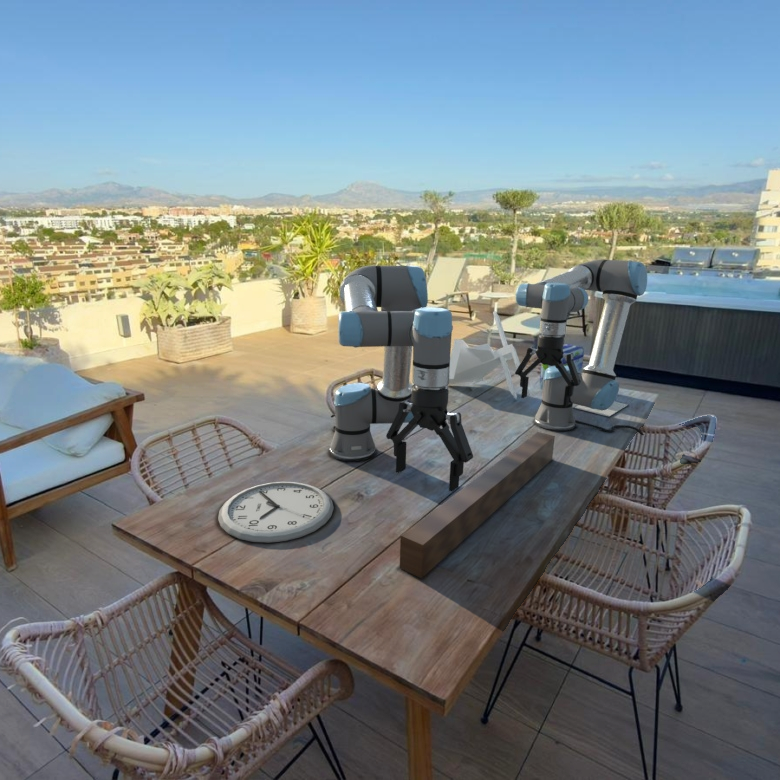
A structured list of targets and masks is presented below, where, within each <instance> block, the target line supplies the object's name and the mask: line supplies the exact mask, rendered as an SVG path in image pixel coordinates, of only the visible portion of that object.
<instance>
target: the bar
mask: <svg viewBox="0 0 780 780" xmlns="http://www.w3.org/2000/svg"><path fill="white" fill-rule="evenodd" d="M555 439H556V436H555V435H552V434H548V433H544V432H541V431H537V432H535V433H534V434H533V435H532V436H530V437H529V438H527V439H526V440H525V441H524V442H522V443H520V445H518V446H517V447H516V448H514V449H513V450H512V451H510V452H509V453H508V454H506V455H505V456H504V457H501V459H500V460H499V461H497V462H495V463H494V464H493V465H492V466H490V467H489V468H488V469H487V470H485V471H484V472H482V473H481V474H480V475H478V476H477V477H476V478H475V479H473V480H472V481H471V482H469V483H468V484H466V485H465V486H464V487H463V488H461V489H460V490H459V491H457V492H456V493H455V494H453V495H452V496H451V497H449V498H448V499H447V500H445V501H444V502H443V503H441V504H440V505H439V506H437V507H436V508H435V509H433V511H431V512H430V513H429V514H427V515H425V517H423V518H422V519H420V520H419V521H418V522H416V523H415V524H414V525H412V526H411V527H409V528H408V529H407V530H406V531H405V532H403V533H402V534H401V535H400V536H399V537H400V538H399V541H400V543H399V544H400V545H399V569H400V570H403V571H405V572H407V573H409V574H411V575H413V576H416V577H417V578H420V579H423V578H424V577H425V576H426V575H427V574H428V573H429V572H430V571H432V570H433V569H434V568H435V567H436V566H437V565H438V564H439V563H440V562H441V561H442V560H443V559H445V558H446V557H447V556H448V555H449V554H450V553H451V552H452V551H454V550H455V549H456V548H457V547H458V546H459V545H460V544H461V543H463V542H464V540H465V539H467V538H468V537H469V536H470V535H471V534H472V533H473V532H474V531H475V530H477V528H479V527H480V526H482V524H483V523H484V522H485V521H487V519H489V518H490V517H491V516H492V515H493V514H494V513H495V512H496V511H497V510H498V509H499V508H501V507H502V506H503V505H505V503H507V501H508V500H509V499H510V498H511V497H512V496H514V495H515V494H516V493H517V492H518V491H519V490H520V489H522V487H523V486H525V485H526V484H527V483H528V482H529V481H530V480H531V479H533V478H534V476H536V475H537V474H538V473H539V472H541V470H543V469H544V468H545V467H546V466H547V465H548V464H549V463H550V462H551V461H552V460H553V457H554V456H553V454H554V447H555Z"/></svg>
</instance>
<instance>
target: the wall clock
mask: <svg viewBox="0 0 780 780" xmlns="http://www.w3.org/2000/svg"><path fill="white" fill-rule="evenodd" d="M334 507H335V506H334V503H333V500H332V499H331V497H330V496H329V494H328V493H326V492H325V491H324V490H321V489H320V488H319V487H316V486H313V485H310V484H307V483H301V482H296V481H275V482H268V483H262V484H258V485H255V486H254V485H253V486H252V487H248V488H245V489H243V490H241V491H240V492H238V493H236V494H234V495H232V496H231V497H230V498H228V499H227V500H226V501H225V502H224V503H223V505H222V506H221V507H220V509H219V511H218V517H217V520H218V523H219V525H220V528H221V529H222V530H223V531H225V533H226V534H228V535H230V536H232V537H234V538H237V539H239V540H243V541H248V542H252V543H267V544H268V543H278V542H286V541H291V540H295V539H299V538H302V537H305V536H307V535H309V534H311V533H314V532H316V531H317V530H319V529H321V528H322V527H323V526H325V525H326V524H327V522H328V521H329V520H330V519H331V517H332V515H333V511H334Z"/></svg>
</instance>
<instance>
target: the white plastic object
mask: <svg viewBox="0 0 780 780" xmlns="http://www.w3.org/2000/svg"><path fill="white" fill-rule="evenodd" d="M492 315H493V319H494V321H495V324H496V325H495V326H496V328H497V332H498V335H499V338H500V342H501V345H502V347H500V348H498V349H496V350H495V349H493V348H492V347H491V346H490V344H489V343H488V342H487V343H483V344H479V345H473V346H469V345H468V343H466V342H465V340H464V339H463V338H460V339H458V338H454V340H453V344H452V347H451V352H450V373H449V384H448V385H447V386H449V385H458V384H467V383H468V384H469V383H473V384H477V383H480V382H482V381H484V378H485V377H486V376H487V375H489V374H490V373H492V372H494V371H495V370H496V369H497V368H499V367H500V366H502V370H503V373H504V376H505V380H506V383H507V386H508V390H509V393H510V394H511V395H512V397H513V398H514V399H515V400H517V392H516V391H517V390H516V388H515V385H514V381H513V378H512V375H511V371H510V369H509V365H508V361H510V360H513V363H514V366H515V369H516V370H517V368H518V367H519V365H520V364H521V362H520V359H519V355H518V352H517V349H516V347H515V346H514V345H513V343H511V344H508V341H507V337H506V334H505V331H504V328H503V325H502V321H501V318H500V315H499V314H498V312H497V311H496V310H495V311H492ZM522 372H524V370H523V371H522ZM517 376H518V380H520V376H519V375H517ZM528 396H531V395H530V390H529V389H528V390H527V396H526V397H528Z"/></svg>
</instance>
